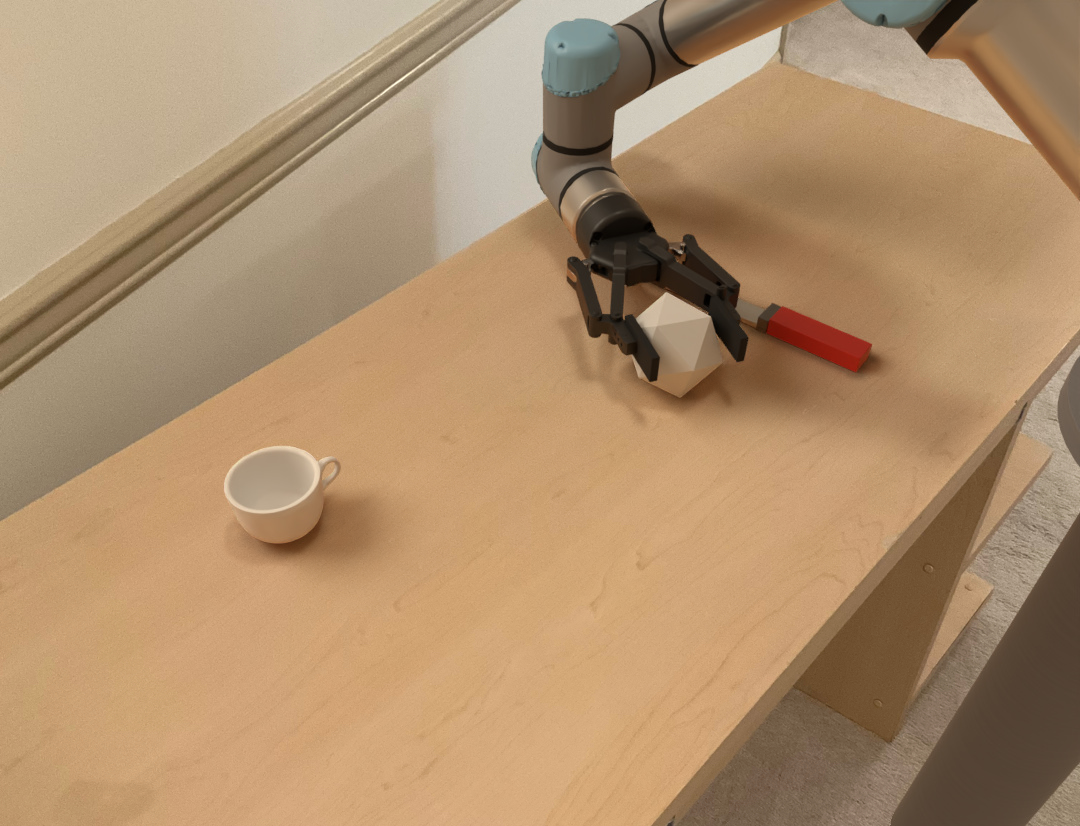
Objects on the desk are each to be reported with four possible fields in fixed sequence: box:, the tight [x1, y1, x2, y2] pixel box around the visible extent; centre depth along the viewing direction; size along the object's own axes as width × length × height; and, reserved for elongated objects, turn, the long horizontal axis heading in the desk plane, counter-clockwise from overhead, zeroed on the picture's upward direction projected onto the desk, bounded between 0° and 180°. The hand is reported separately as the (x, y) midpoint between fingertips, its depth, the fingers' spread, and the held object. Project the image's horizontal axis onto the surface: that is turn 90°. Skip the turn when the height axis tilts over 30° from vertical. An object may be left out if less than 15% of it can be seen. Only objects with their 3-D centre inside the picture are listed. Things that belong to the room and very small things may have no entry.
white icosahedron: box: [630, 291, 725, 399], centre depth 96 cm, size 8×9×10 cm
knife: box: [664, 287, 873, 373], centre depth 105 cm, size 27×3×2 cm, turn 53°
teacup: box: [223, 445, 342, 544], centre depth 85 cm, size 10×8×5 cm
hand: (699, 359), depth 92 cm, fingers closed on white icosahedron, 8 cm apart
